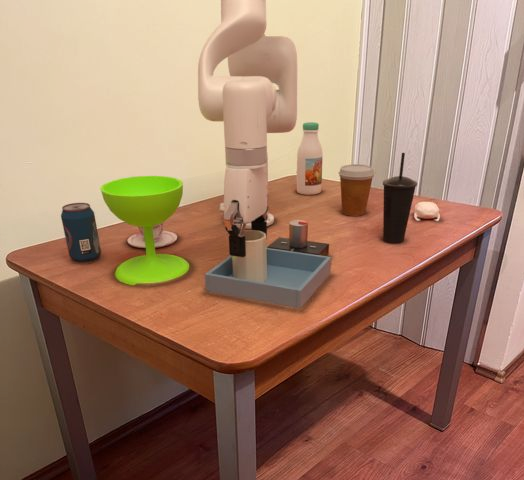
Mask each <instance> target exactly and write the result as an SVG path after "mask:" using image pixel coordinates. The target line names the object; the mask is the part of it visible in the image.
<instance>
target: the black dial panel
mask: <svg viewBox="0 0 524 480" xmlns="http://www.w3.org/2000/svg"><path fill="white" fill-rule="evenodd" d="M267 248H272V249H279V250H286V251H293V252H300V253H307V254H314V255H321V256H329V254H330V253H329V252H330V243H326V242H320V241H311V240H307V246H306V247H304V248H293V247H291V246H289V237H282V236H279V237H277V238H276V239H275V240H274V241H272V242H271V243H270V244H268V245H267Z"/></svg>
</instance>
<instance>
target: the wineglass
mask: <svg viewBox="0 0 524 480" xmlns="http://www.w3.org/2000/svg"><path fill="white" fill-rule="evenodd" d="M99 189H100V192H101V195H102V198H103V201H104V203H105V204H106V206H107V208H108V209H109V211H110V212H111V213H112V214H113V215H114V216H115V217H116V218H117V219H119V220H120V221H122V222H124V223H126V224H127V225H131V226H132V227H133V226H134V227H138V226H139V227H143V232H144V240H145V247H146V248H145V254H143V255H139V256H134V257H131V258H128V259H127V260H125V261H123V262H121V263H120V264H119V265H118V266H117V267H116V270H115V272H114V276H115V279H116V280H117V281H119V282H120V283H123V284H125V285H129V286H136V285H138V284H155V283H157V284H158V283H163V282H167V281H171V280H174V279H177V278H179V277H182V276H183V275H185V274H187V272H188V271H189V269H190V264H189V262H188V261H187V260H186V259H185V258H183V257H181V256H177V255H174V254H168V253H156V248H155V245H154V237H153V229H152V226H155V225H157V224H160V223H163V224H164V222H167V220H168V219H169V218H171V217H172V216H173V215H174V214H175V213H176V211H177V210H178V208H179V206H180V204H181V202H182V197H183V194H184V193H183V192H184V182H183V181H182V180H181V179H179V178H176V177H172V176H165V175H138V176H129V177H122V178H118V179H113V180H110V181H108V182H106V183H104V184H102V185H101V187H100V188H99Z"/></svg>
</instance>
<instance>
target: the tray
mask: <svg viewBox="0 0 524 480" xmlns="http://www.w3.org/2000/svg"><path fill="white" fill-rule="evenodd" d="M331 273H332V256H329V255H327V256H321V255H314V254H307V253H300V252H293V251H286V250H279V249H272V248H267V279H266V280H265V281H264V282H258V281H252V280H246V279H240V278H234V277H233V268H232V256H231V255H230V254H229V256H228V257H226V258H225V259H224V260H222V261H220V263H218V264H216V265H215V266H213V267H212V268H211V269H210V270H208V271H207V272H206V273H204V284H205V292H207V293H214V294H218V295H225V296H229V297H230V296H231V297H235V298H240V299H245V300H252V301H257V302H261V303H268V304H273V305H279V306H284V307H290V308H294V309H295V308H296V309H302V307H304V305H305V304H306V303H307V301H308V300H309V299H311V297H312V296H313V295H314V294H315V292H317V290H318V289H319V288H320V287H321V285H322V284H323V283H324V282H325V281H326V280H327V279H328V277H329V276H330V275H331Z"/></svg>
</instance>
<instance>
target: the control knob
mask: <svg viewBox="0 0 524 480" xmlns="http://www.w3.org/2000/svg"><path fill="white" fill-rule="evenodd" d="M288 226H289V227H288V238H289V246H291V247H293V248H304V247H306V246H307V241H308V240H309V239H308V236H309V235H308V234H309V233H308V232H309V222H308V221H306V220H303V219H294V220H290V221H289V225H288Z"/></svg>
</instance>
